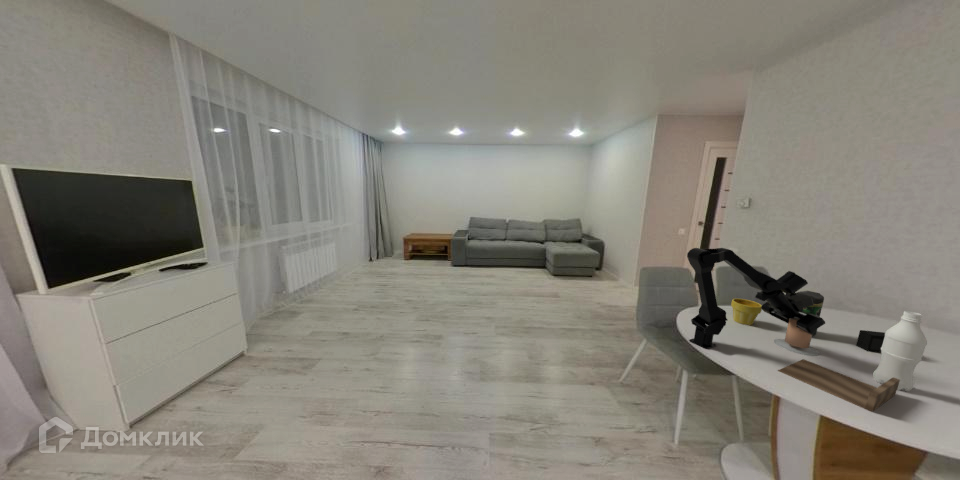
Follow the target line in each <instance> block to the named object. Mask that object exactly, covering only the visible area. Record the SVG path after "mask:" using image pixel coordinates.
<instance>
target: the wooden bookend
mask: <svg viewBox="0 0 960 480" xmlns="http://www.w3.org/2000/svg"><path fill="white" fill-rule="evenodd" d="M777 372H780V373H781V374H784V375H786V376H788V377H791V378H793V379H796V380H797V381H800V382H802V383H804V384H807V385H809V386H811V387H814V388H816V389H818V390H821V391H822V392H825V393H827V394H830V395H831V396H832V395H833V396H834V397H836V398H839V399H841V400H843V401H844V402H845V401H846V402H848V403H851V404H853V405H854V406H857V407H860V408H862V409H864V410H866V411H868V412H871V413H873V412H874V411H875V410H877V409H878V408H880V407H881V406H883V404H885V403H886V402H888V401H889V400H891V399H892V398H894V397H895V396H896V394H897V391H898V390H897V388H898V385H899V382H900V380H899V379H897V378H894V377H893V378H891V379H890V380H888V381H887V382H885V383H884V384H881V385H879V386H878V387H877V386H873V385H872V384H869V383H867V382H863V381H861V380H859V379H856V378H853V377H850V376H848V375H845V374H842V373H840V372H837V371H835V370H832V369H830V368H827V367H826V366H822V365H821V364H820V365H819V364H817V363H814V362H812V361H810V360H807V359H804V358H803V359H801V360H798V361H796V362H793V363H791V364H789V365H786V366H785V367H783V368H780V369H778V370H777Z"/></svg>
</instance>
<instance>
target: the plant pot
mask: <svg viewBox="0 0 960 480" xmlns="http://www.w3.org/2000/svg"><path fill="white" fill-rule="evenodd" d="M762 305H763V304H761V303H759V302H757V301H753V300H749V299H746V298H745V299H744V298H732V300H731V304H730V307H731V308H732V316H733V317H732V318H733V321H734V322H736V323H739V324H741V325H745V326H746V325H747V326H752V325H754V322H755V320H756V318H757V317H758V315H759V314H761V313H762V311H763V310H762V309H761V307H762Z"/></svg>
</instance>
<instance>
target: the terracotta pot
mask: <svg viewBox="0 0 960 480" xmlns="http://www.w3.org/2000/svg"><path fill="white" fill-rule="evenodd" d="M797 321H798V319H796V318H793V319H789V323H787V329H786V332H785V338H784V339H785V342H786V343H788V344H790V345H793V346H796V347H800V348H809V347H811V346H810V345H811V342H812V338H813V336H812V335H811V334H809V333H807V332H805V331H803V330H801V329H799V328H797V327H796V326H797V325H796V322H797Z"/></svg>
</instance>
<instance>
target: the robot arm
mask: <svg viewBox="0 0 960 480" xmlns="http://www.w3.org/2000/svg"><path fill="white" fill-rule="evenodd" d="M686 256H687V260H688V262H689V264H690V266H691V268H692V269H693V270H694V272H695V277H696V281H697V287H698V293H699V298H700V307H699V308H698V314H697V315H696V316H694V317H693V318H691V319H690V321H691V324H692V325H693V326H695V331H694V337H693V338H691V339H689V340H688V341H689V342H691V343H693V344H695V345H697V346H699V347H701V348H704V349H707V350H708V349H711V348H713V347H717V344H716V343H714V342H713V340H714V335H716V336H719V335H720V333H721V332H722V330H723V329H724V327H725V326H726V325H727V321H728V318H727V312H726V310H725V309H723V308H721V307H719V306H718V302H717V296H716V291H715V285H714V279H713V274H712V271H713V269H714V267H715V264H718V263H721V262H724V263H726V264H727V265H729V267H731V268H732V269H733V270H735V271H736V272H738V273H739V274H740V275H741V276H743V278H744V281H745V282H746V283H747V284H748V285H749V286H750V287H751V288H754V289H756V290H759V291H757V292H756V295H755V297H754V298H756V299H758V300H760V301H762V302H764V303H763V304H761V305H762V307H761V309H762V310H761V311H763V312H764V313H767V314H768V315H770V316H772V317H773V318H776V319H779V320H780V321H782V322H784V323H786V324H788V323H789V319H793V318H796V319H798V321H797V322H796V325H797V326H796V327H797V328H799V329H801V330H803V331H805V332H807V333H809V334H811V335H813V334H815V331H814V330H816V329H817V330H818V329H819V328H821V327H822V326H823V325H825V324H826V321H825V320H824V318H823V317H821V316H820V317H818V316H816V315H813V314H807V315H803V314H801V313H799V312H802V311H803V309H802V308H805V307H808V306H813V305H814V303H813V300H812V297H811V296H808V295H805V294H802V293H797V292H799V290H801V289H802V288H803V287H804V288H805V286H807V285H808V281H807V280H806V279H805V278H803V277H802V276H800V275H798V274H796V273H795V271H791V270H788V271H787V272H785V274H783V275H782V276H780V277H779V278H778V279H775V278H774V277H772V276H770V275H767V274H765V273H763V272H761V271H759V270H757V269H756V268H754V267H753V266H751V264H750V263H748V262H747V261H745V260H744V259H743V258H741V257H740V256H739V255H738V254H736V253H735V252H734V251H733V250H732V249H728V248H725V247H718V248H698V247H693V248H691V249H690V250H689V251H688V252H687V253H686ZM765 301H766V302H765ZM815 335H816V334H815ZM813 336H814V335H813Z"/></svg>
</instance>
